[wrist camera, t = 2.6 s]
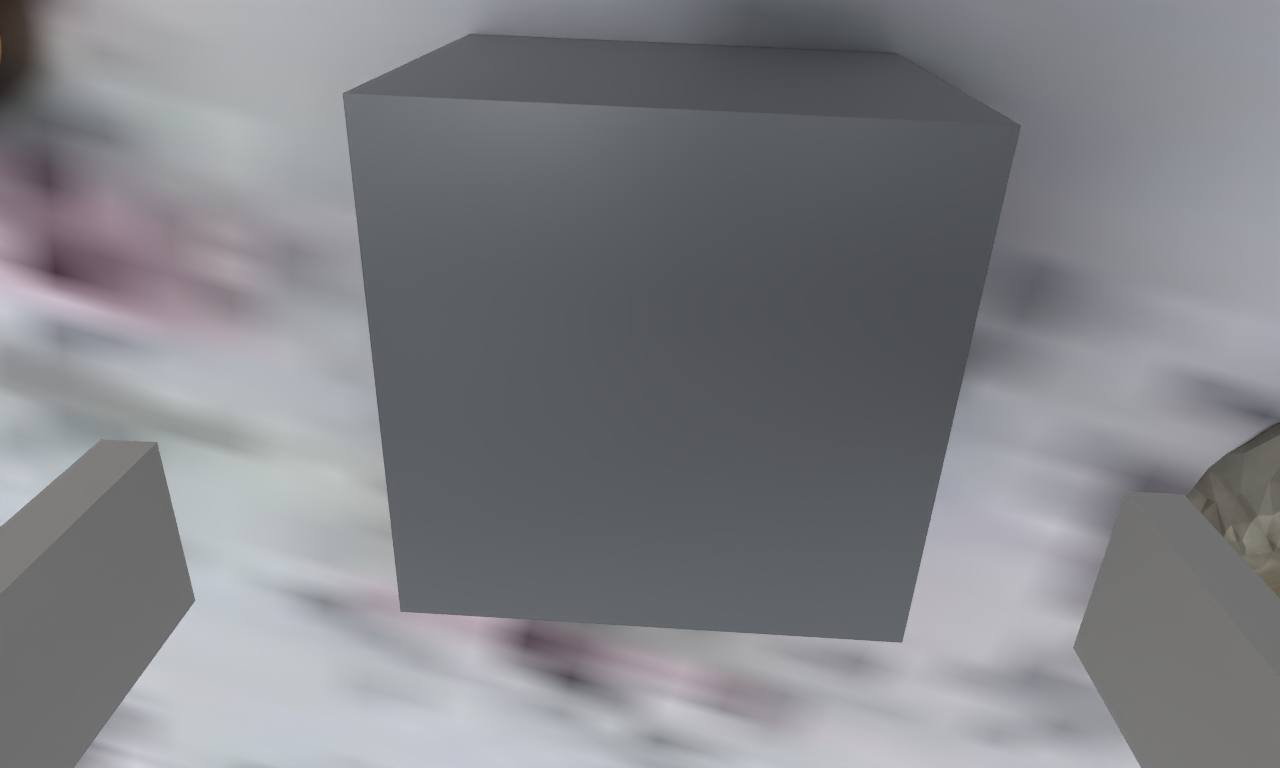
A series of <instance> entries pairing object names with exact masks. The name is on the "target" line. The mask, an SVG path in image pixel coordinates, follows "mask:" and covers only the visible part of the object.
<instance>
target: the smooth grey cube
mask: <svg viewBox="0 0 1280 768" xmlns="http://www.w3.org/2000/svg"><path fill="white" fill-rule="evenodd" d="M343 99H344V108H345V117H346V126H347V135H348V144H349V153H350V162H351V171H352V180H353V189H354V198H355V207H356V216H357V225H358V234H359V243H360V251H361V260H362V269H363V278H364V287H365V296H366V305H367V314H368V323H369V332H370V341H371V350H372V359H373V368H374V377H375V386H376V395H377V404H378V413H379V421H380V430H381V439H382V448H383V457H384V466H385V475H386V484H387V493H388V502H389V511H390V520H391V529H392V538H393V547H394V556H395V565H396V574H397V583H398V592H399V600H400V609H401V612H416V613H433V614H449V615H465V616H481V617H497V618H514V619H530V620H546V621H562V622H578V623H595V624H611V625H627V626H643V627H659V628H676V629H692V630H708V631H724V632H740V633H757V634H773V635H789V636H805V637H821V638H838V639H854V640H870V641H886V642H902V641H903V637H904V632H905V628H906V623H907V619H908V615H909V610H910V606H911V602H912V597H913V593H914V588H915V584H916V580H917V575H918V571H919V567H920V562H921V558H922V554H923V549H924V545H925V540H926V536H927V532H928V527H929V523H930V519H931V514H932V510H933V505H934V501H935V497H936V492H937V488H938V484H939V479H940V475H941V471H942V466H943V462H944V457H945V453H946V449H947V444H948V440H949V436H950V431H951V427H952V422H953V418H954V414H955V409H956V405H957V401H958V396H959V392H960V388H961V383H962V379H963V374H964V370H965V366H966V361H967V357H968V353H969V348H970V344H971V339H972V335H973V331H974V326H975V322H976V318H977V313H978V309H979V305H980V300H981V296H982V291H983V287H984V283H985V278H986V274H987V270H988V265H989V261H990V256H991V252H992V248H993V243H994V239H995V235H996V230H997V226H998V222H999V217H1000V213H1001V208H1002V204H1003V200H1004V195H1005V191H1006V187H1007V182H1008V178H1009V173H1010V169H1011V165H1012V160H1013V156H1014V152H1015V147H1016V143H1017V139H1018V134H1019V130H1020V125H1019V124H1017V123H1016V122H1014V121H1012V120H1010V119H1009V118H1007V117H1005V116H1004V115H1002V114H1000V113H998V112H997V111H995V110H993V109H991V108H990V107H988V106H986V105H984V104H983V103H981V102H979V101H978V100H976V99H974V98H972V97H971V96H969V95H967V94H965V93H964V92H962V91H960V90H959V89H957V88H955V87H953V86H952V85H950V84H948V83H946V82H945V81H943V80H941V79H939V78H938V77H936V76H934V75H933V74H931V73H929V72H927V71H926V70H924V69H922V68H920V67H919V66H917V65H915V64H914V63H912V62H910V61H908V60H907V59H905V58H903V57H901V56H900V55H898V54H896V53H876V52H854V51H832V50H810V49H788V48H766V47H743V46H721V45H699V44H677V43H655V42H633V41H611V40H589V39H567V38H545V37H523V36H501V35H478V34H469V35H467V36H464V37H462V38H460V39H458V40H456V41H454V42H452V43H449V44H447V45H445V46H443V47H441V48H439V49H437V50H435V51H432V52H430V53H428V54H426V55H424V56H422V57H420V58H417V59H415V60H413V61H411V62H409V63H407V64H405V65H402V66H400V67H398V68H396V69H394V70H392V71H390V72H387V73H385V74H383V75H381V76H379V77H377V78H375V79H373V80H370V81H368V82H366V83H364V84H362V85H360V86H358V87H355V88H353V89H351V90H349V91H347V92H345V93H343Z"/></svg>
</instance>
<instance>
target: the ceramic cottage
mask: <svg viewBox="0 0 1280 768" xmlns="http://www.w3.org/2000/svg"><path fill="white" fill-rule="evenodd" d="M1186 497H1187V498H1188V499H1189V500H1190V502H1191V503H1192V504H1193V505H1194V506H1195V507H1196V508H1197V509H1198V510H1199V511H1200V512H1201V514H1202V515H1203V516H1204V517H1205V518H1206V519H1207V520H1208V521H1209V522H1210V523H1211V524H1212V525H1213V527H1214V528H1215V529H1216V530H1217V531H1218V532H1219V533H1220V534H1221V535H1222V536H1223V537H1224V538H1225V540H1226V541H1227V542H1228V543H1229V544H1230V545H1231V546H1232V547H1233V548H1234V549H1235V550H1236V552H1237V553H1238V554H1239V555H1240V556H1241V557H1242V558H1243V559H1244V560H1245V561H1246V562H1247V563H1248V565H1249V566H1250V567H1251V568H1252V569H1253V570H1254V571H1255V572H1256V573H1257V574H1258V575H1259V576H1260V578H1261V579H1262V580H1263V581H1264V582H1265V583H1266V584H1267V585H1268V586H1269V587H1270V588H1271V590H1272V591H1273V592H1274V593H1275V594H1276V595H1277V596H1278V597H1279V598H1280V423H1279V424H1277V425H1275V426H1273V427H1271V428H1270V429H1268V430H1266V431H1265V432H1263V433H1262V434H1260V435H1259V436H1257V437H1256V438H1254V439H1253V440H1251V441H1250V442H1248V443H1246V444H1244V445H1242V446H1241V447H1239V448H1237V449H1235V450H1233V451H1232V452H1230V453H1228V454H1226V455H1225V456H1223V457H1222V458H1221V459H1220V460H1219V461H1217V462H1216V463H1215V464H1214V465H1212V466H1211V467H1210V468H1209V469H1208V470H1207V471H1206V472H1205V474H1204V475H1203V476H1202V478H1201V479H1200V480H1199V481H1198V483H1197V484H1196V485H1195V487H1194V488H1193V489H1192V490H1191V491H1190V493H1189V494H1188V495H1187V496H1186Z"/></svg>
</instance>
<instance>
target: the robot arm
mask: <svg viewBox="0 0 1280 768" xmlns="http://www.w3.org/2000/svg"><path fill="white" fill-rule="evenodd" d="M194 601H195V598H194V594H193V590H192V586H191V581H190V577H189V573H188V569H187V565H186V561H185V557H184V552H183V548H182V544H181V540H180V536H179V532H178V527H177V523H176V519H175V515H174V511H173V507H172V503H171V498H170V494H169V490H168V486H167V482H166V478H165V474H164V469H163V465H162V461H161V457H160V453H159V449H158V444H157V442H142V441H122V440H102V439H101V440H100V441H99V442H98V443H97V444H96V445H94V446H93V447H92V448H91V449H90V450H89V451H87V452H86V453H85V454H84V455H83V456H82V457H81V458H79V459H78V460H77V461H76V462H75V463H74V464H73V465H71V466H70V467H69V468H68V469H67V470H66V471H64V472H63V473H62V474H61V475H60V476H59V477H58V478H56V479H55V480H54V481H53V482H52V483H51V484H50V485H48V486H47V487H46V488H45V489H44V490H43V491H41V492H40V493H39V494H38V495H37V496H36V497H35V498H33V499H32V500H31V501H30V502H29V503H28V504H27V505H25V506H24V507H23V508H22V509H21V510H20V511H18V512H17V513H16V514H15V515H14V516H13V517H12V518H10V519H9V520H8V521H7V522H6V523H5V524H4V525H2V526H1V527H0V768H74V767H75V765H76V764H77V762H78V761H79V760H80V758H81V757H82V756H83V754H84V753H85V751H86V750H87V749H88V747H89V746H90V745H91V743H92V742H93V740H94V739H95V738H96V736H97V735H98V734H99V732H100V731H101V729H102V728H103V727H104V725H105V724H106V722H107V721H108V720H109V718H110V717H111V716H112V714H113V713H114V711H115V710H116V709H117V707H118V706H119V705H120V703H121V702H122V700H123V699H124V698H125V696H126V695H127V694H128V692H129V691H130V689H131V688H132V687H133V685H134V684H135V683H136V681H137V680H138V678H139V677H140V676H141V674H142V673H143V672H144V670H145V669H146V667H147V666H148V665H149V663H150V662H151V661H152V659H153V658H154V656H155V655H156V654H157V652H158V651H159V650H160V648H161V647H162V645H163V644H164V643H165V641H166V640H167V639H168V637H169V636H170V634H171V633H172V632H173V630H174V629H175V628H176V626H177V625H178V623H179V622H180V621H181V619H182V618H183V617H184V615H185V614H186V612H187V611H188V610H189V608H190V607H191V606H192V604H193V603H194ZM1073 648H1074V649H1075V651H1076V653H1077V655H1078V657H1079V658H1080V660H1081V662H1082V664H1083V665H1084V667H1085V669H1086V671H1087V672H1088V674H1089V676H1090V678H1091V680H1092V681H1093V683H1094V685H1095V687H1096V688H1097V690H1098V692H1099V694H1100V695H1101V697H1102V699H1103V701H1104V703H1105V704H1106V706H1107V708H1108V710H1109V711H1110V713H1111V715H1112V717H1113V718H1114V720H1115V722H1116V724H1117V726H1118V727H1119V729H1120V731H1121V733H1122V734H1123V736H1124V738H1125V740H1126V741H1127V743H1128V745H1129V747H1130V749H1131V750H1132V752H1133V754H1134V756H1135V757H1136V759H1137V761H1138V763H1139V765H1140V766H1141V768H1280V598H1279V597H1278V596H1277V595H1276V594H1275V593H1274V592H1273V591H1272V590H1271V588H1270V587H1269V586H1268V585H1267V584H1266V583H1265V582H1264V581H1263V580H1262V579H1261V578H1260V576H1259V575H1258V574H1257V573H1256V572H1255V571H1254V570H1253V569H1252V568H1251V567H1250V566H1249V565H1248V563H1247V562H1246V561H1245V560H1244V559H1243V558H1242V557H1241V556H1240V555H1239V554H1238V553H1237V552H1236V550H1235V549H1234V548H1233V547H1232V546H1231V545H1230V544H1229V543H1228V542H1227V541H1226V540H1225V538H1224V537H1223V536H1222V535H1221V534H1220V533H1219V532H1218V531H1217V530H1216V529H1215V528H1214V527H1213V525H1212V524H1211V523H1210V522H1209V521H1208V520H1207V519H1206V518H1205V517H1204V516H1203V515H1202V514H1201V512H1200V511H1199V510H1198V509H1197V508H1196V507H1195V506H1194V505H1193V504H1192V503H1191V502H1190V500H1189V499H1188V498H1187V497H1186V496H1185V495H1184V494H1166V493H1147V492H1127V491H1126V494H1125V497H1124V500H1123V503H1122V506H1121V509H1120V512H1119V515H1118V518H1117V521H1116V524H1115V526H1114V529H1113V532H1112V535H1111V538H1110V541H1109V544H1108V547H1107V550H1106V553H1105V556H1104V559H1103V562H1102V565H1101V568H1100V571H1099V573H1098V576H1097V579H1096V582H1095V585H1094V588H1093V591H1092V594H1091V597H1090V600H1089V603H1088V606H1087V609H1086V612H1085V615H1084V618H1083V621H1082V623H1081V626H1080V629H1079V632H1078V635H1077V638H1076V641H1075V644H1074V647H1073Z"/></svg>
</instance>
